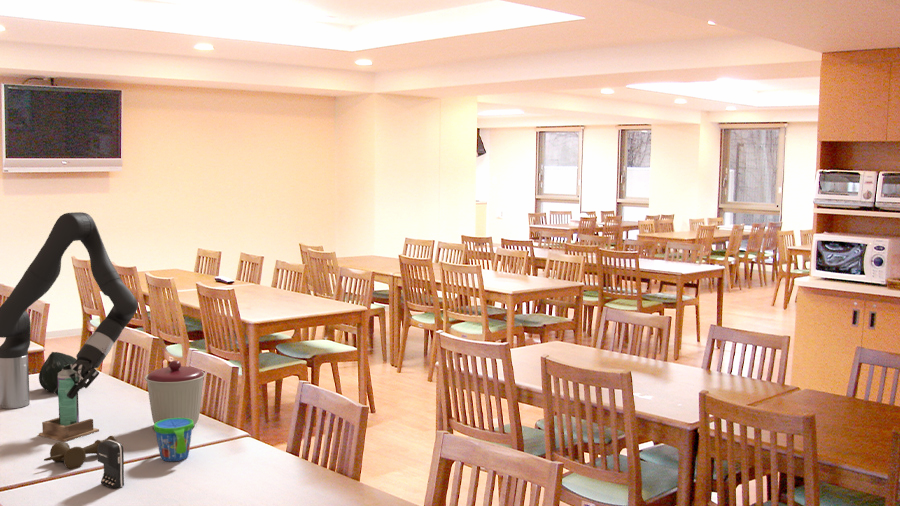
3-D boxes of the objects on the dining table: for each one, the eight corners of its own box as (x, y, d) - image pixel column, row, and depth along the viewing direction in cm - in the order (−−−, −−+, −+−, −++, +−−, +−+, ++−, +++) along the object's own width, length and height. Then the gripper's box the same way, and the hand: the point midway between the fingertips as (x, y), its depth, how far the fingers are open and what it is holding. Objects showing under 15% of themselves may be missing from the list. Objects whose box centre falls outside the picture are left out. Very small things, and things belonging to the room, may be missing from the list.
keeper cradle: (38, 435, 249) (38, 422, 249) (73, 425, 260) (73, 412, 260) (64, 441, 244) (64, 428, 243) (99, 431, 254) (98, 418, 254)
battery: (96, 484, 211) (94, 441, 210) (109, 480, 214) (108, 437, 213) (111, 491, 207) (110, 447, 206) (125, 486, 210) (124, 443, 209)
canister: (159, 439, 247) (158, 370, 245) (136, 424, 261) (135, 359, 259) (215, 427, 259) (214, 361, 257) (191, 414, 273) (190, 352, 271)
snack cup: (151, 451, 236) (150, 417, 235) (189, 447, 241) (189, 413, 240) (158, 469, 222) (157, 433, 221) (198, 464, 227) (197, 428, 226)
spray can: (82, 426, 254) (80, 362, 252) (73, 432, 249) (70, 367, 247) (66, 425, 255) (63, 362, 253) (55, 431, 249) (53, 366, 247)
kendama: (123, 457, 233) (52, 474, 218) (105, 451, 239) (35, 467, 224) (123, 436, 233) (52, 452, 217) (105, 430, 239) (35, 445, 223)
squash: (97, 374, 303) (76, 341, 306) (63, 384, 290) (41, 350, 292) (78, 395, 309) (57, 363, 311) (44, 406, 295) (22, 373, 298)
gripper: (72, 340, 259) (39, 386, 250) (103, 345, 252) (70, 392, 243) (87, 353, 264) (55, 399, 255) (118, 359, 258) (86, 406, 248)
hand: (63, 395), depth 249 cm, fingers closed on spray can, 5 cm apart
